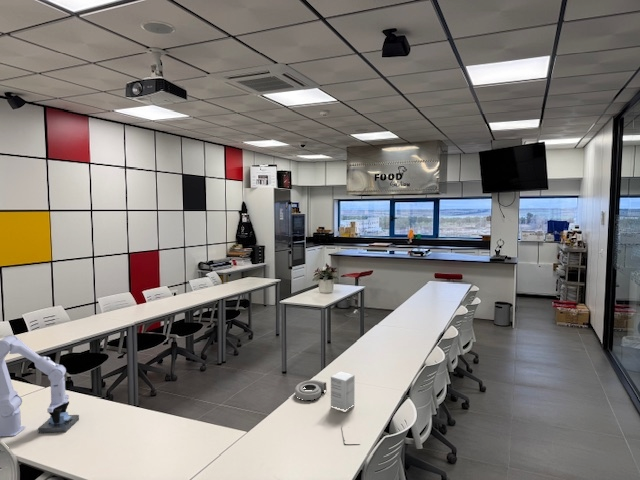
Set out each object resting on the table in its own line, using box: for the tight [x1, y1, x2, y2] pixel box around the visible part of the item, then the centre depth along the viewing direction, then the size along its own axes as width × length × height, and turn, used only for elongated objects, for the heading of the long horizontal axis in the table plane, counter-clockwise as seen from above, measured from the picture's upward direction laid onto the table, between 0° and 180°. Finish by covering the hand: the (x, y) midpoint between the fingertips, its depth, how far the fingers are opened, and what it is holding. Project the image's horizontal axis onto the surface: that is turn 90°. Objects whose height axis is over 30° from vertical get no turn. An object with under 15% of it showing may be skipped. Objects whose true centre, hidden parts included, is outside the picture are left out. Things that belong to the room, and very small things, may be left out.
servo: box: [46, 411, 71, 424], centre depth 196 cm, size 9×4×5 cm, turn 94°
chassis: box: [37, 414, 80, 434], centre depth 196 cm, size 12×12×2 cm
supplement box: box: [330, 371, 355, 410], centre depth 216 cm, size 10×9×17 cm
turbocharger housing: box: [294, 379, 327, 401], centre depth 231 cm, size 17×6×15 cm
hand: (59, 420), depth 196 cm, fingers closed on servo, 4 cm apart
